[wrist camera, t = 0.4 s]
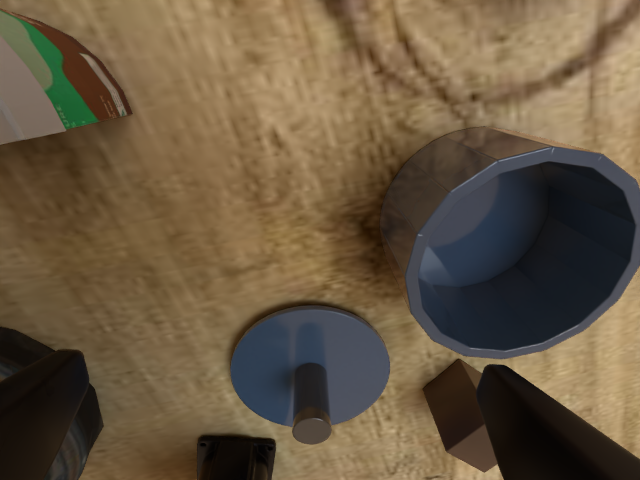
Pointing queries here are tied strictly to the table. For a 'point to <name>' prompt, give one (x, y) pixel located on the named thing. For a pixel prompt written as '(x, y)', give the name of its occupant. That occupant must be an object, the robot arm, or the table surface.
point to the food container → (50, 82)
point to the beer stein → (21, 351)
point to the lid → (310, 369)
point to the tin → (509, 240)
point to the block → (460, 415)
